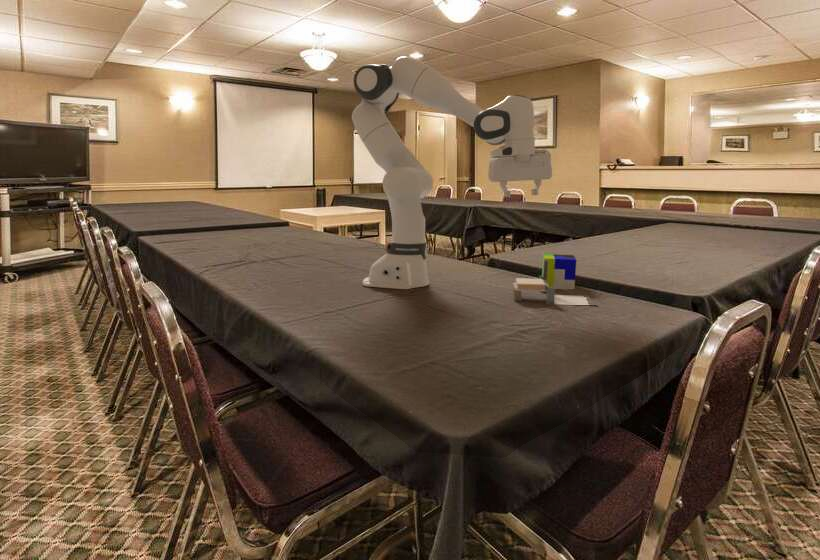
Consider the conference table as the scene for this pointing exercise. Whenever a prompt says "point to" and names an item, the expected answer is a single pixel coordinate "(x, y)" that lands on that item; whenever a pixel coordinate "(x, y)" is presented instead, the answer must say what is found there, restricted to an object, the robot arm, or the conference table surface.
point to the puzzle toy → (560, 271)
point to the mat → (570, 300)
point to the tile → (530, 283)
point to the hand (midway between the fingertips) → (521, 195)
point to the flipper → (543, 279)
